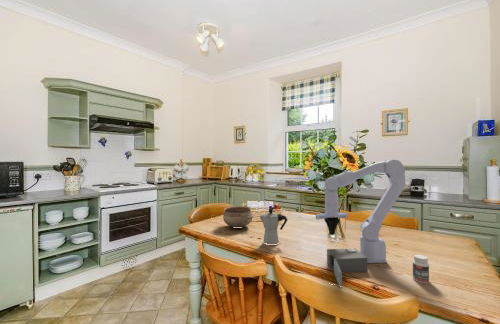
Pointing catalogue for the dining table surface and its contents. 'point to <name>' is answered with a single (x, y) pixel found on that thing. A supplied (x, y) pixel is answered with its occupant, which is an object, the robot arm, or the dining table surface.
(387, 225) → the dining table surface
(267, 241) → the coffee maker
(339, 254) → the camera housing
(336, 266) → the side door
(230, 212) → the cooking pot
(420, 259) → the pill bottle
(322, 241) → the dining table surface
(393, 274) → the dining table surface
